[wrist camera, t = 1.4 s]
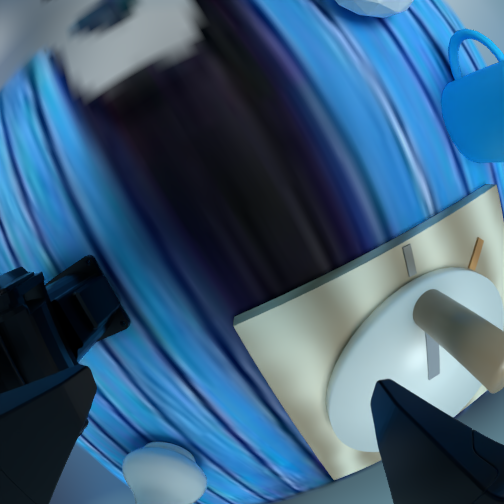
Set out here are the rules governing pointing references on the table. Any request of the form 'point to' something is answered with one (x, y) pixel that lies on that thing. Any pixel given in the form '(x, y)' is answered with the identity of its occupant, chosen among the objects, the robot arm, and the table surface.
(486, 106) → the mug
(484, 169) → the table surface
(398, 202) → the table surface
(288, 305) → the dial board
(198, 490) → the flower vase
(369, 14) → the ball
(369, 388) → the dial
